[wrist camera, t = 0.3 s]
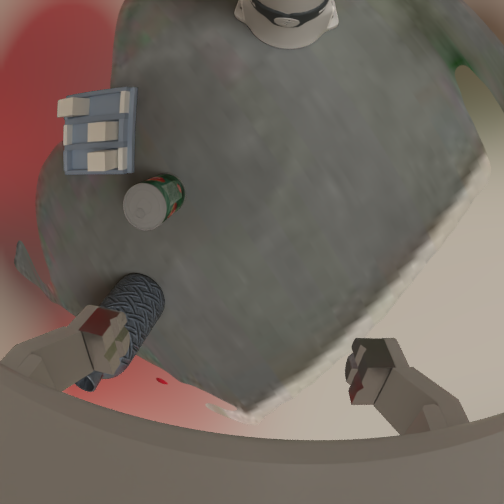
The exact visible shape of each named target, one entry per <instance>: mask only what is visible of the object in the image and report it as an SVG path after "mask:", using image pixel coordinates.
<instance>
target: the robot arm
mask: <svg viewBox="0 0 504 504" xmlns="http://www.w3.org/2000/svg"><path fill="white" fill-rule="evenodd" d="M241 8H242V9H241ZM234 15H235V17H236V18H237V19H238V20H240V21H242V22H243V23H245V24H246V25H247V26H248V27H249V28H250V30H251V31H252V32H253V34H254V35H255V36H256V37H257V38H258V39H260V40H261V41H263V42H264V43H266V44H268V45H271V46H274V47H277V48H283V49H295V48H301V47H304V46H307V45H309V44H311V43H313V42H314V41H316V40H317V39H318V38H319V37H320V36H321V35H322V34H323V33H324V32H326V31H329V30H331V29H334V28H336V27H337V26H338V23H339V21H338V16H337V11H336V7H335V2H334V0H238V3H237V6H236V8H235V11H234ZM332 16H333V18H332ZM126 322H127V319H126V314H125V313H124V312H122V311H117V310H112V309H108V308H104V307H99V306H94V305H87V306H86V307H85V308H84V309H83V310H82V311H81V312H80V313H79V314H78V315H77V317H76V318H75V319H74V320H73V321H72V322H71V323H70V324H69V325H68V326H67V327H61V328H58V329H56V330H53V331H51V332H48V333H45V334H43V335H40V336H38V337H35V338H32V339H30V340H27V341H25V342H22V343H20V344H17V345H15V346H14V347H13V348H12V349H11V350H10V351H9V352H8V353H7V355H6V356H5V357H4V358H3V359H2V360H1V361H0V504H504V413H501V414H498V415H495V416H492V417H488V418H485V419H481V420H477V421H473V422H469V420H468V418H467V416H466V414H465V412H464V410H463V408H462V406H461V404H460V402H459V400H458V399H457V398H456V397H454V396H453V395H451V394H450V393H449V392H447V391H446V390H444V389H443V388H442V387H440V386H439V385H437V384H436V383H435V382H433V381H432V380H430V379H429V378H428V377H426V376H425V375H423V374H422V373H420V372H419V371H418V370H416V369H415V368H414V367H409V365H408V363H407V361H406V358H405V357H404V354H403V352H402V350H401V348H400V346H399V344H398V342H397V340H396V339H395V338H382V339H370V338H356V339H355V340H354V342H353V344H352V350H353V353H352V354H351V355H350V356H349V357H348V359H347V362H346V369H345V376H346V381H347V383H349V384H350V385H351V386H350V388H349V396H350V400H351V404H352V405H374V407H375V408H376V409H377V410H378V411H379V412H380V413H381V414H382V415H383V417H384V418H385V419H386V420H387V421H388V422H389V423H390V424H391V425H392V426H393V427H394V429H396V431H397V432H398V433H399V434H400V435H399V436H390V437H381V438H370V439H353V440H315V441H314V440H311V441H310V440H282V439H265V438H254V437H244V436H235V435H227V434H220V433H213V432H206V431H200V430H194V429H189V428H184V427H179V426H174V425H169V424H165V423H160V422H156V421H151V420H147V419H144V418H140V417H136V416H132V415H129V414H125V413H122V412H118V411H115V410H112V409H108V408H105V407H102V406H99V405H96V404H93V403H90V402H87V401H85V400H82V399H79V398H76V397H74V396H71V395H68V394H66V393H63V392H62V391H63V390H65V389H66V388H68V387H69V386H71V385H73V384H74V383H76V382H77V381H79V380H81V379H82V378H84V377H85V376H87V375H88V374H90V373H92V372H93V370H95V371H99V372H103V373H107V374H111V375H114V373H115V371H116V370H117V368H118V366H119V365H120V360H119V358H121V357H123V356H125V355H126V353H127V351H128V348H129V344H130V335H129V331H128V330H127V329H126V327H125V326H124V325H125V324H126Z"/></svg>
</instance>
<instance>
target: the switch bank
mask: <svg viewBox="0 0 504 504" xmlns="http://www.w3.org/2000/svg"><path fill="white" fill-rule="evenodd" d="M137 92H138V88H137V87H131V88H130V87H119V88H112V89H104V90H97V91H91V92H85V93H80V94H74V95H70V96H67V97H66V98H71V97H78V98H90V108H89V115H85V116H77V117H64V120H65V125H64V137H63V145H65V151H63V155H64V171H65V175H75V174H126V173H133V172H134V151H135V122H136V105H137ZM112 121H114V122H119V134H118V139H117V140H108V141H95V142H87V140H88V123H95V122H112ZM111 149H118V168H114V169H111V170H107V171H88V163H87V153H89V152H94V151H100V150H111Z"/></svg>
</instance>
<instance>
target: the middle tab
mask: <svg viewBox="0 0 504 504" xmlns="http://www.w3.org/2000/svg"><path fill="white" fill-rule="evenodd" d="M118 134H119V122H114V121H112V122H95V123H88V140H87V142H95V141H108V140H117V139H118Z"/></svg>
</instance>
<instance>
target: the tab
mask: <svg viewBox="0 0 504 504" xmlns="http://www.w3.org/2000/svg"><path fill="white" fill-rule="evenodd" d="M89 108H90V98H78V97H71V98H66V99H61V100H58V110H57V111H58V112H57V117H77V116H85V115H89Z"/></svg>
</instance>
